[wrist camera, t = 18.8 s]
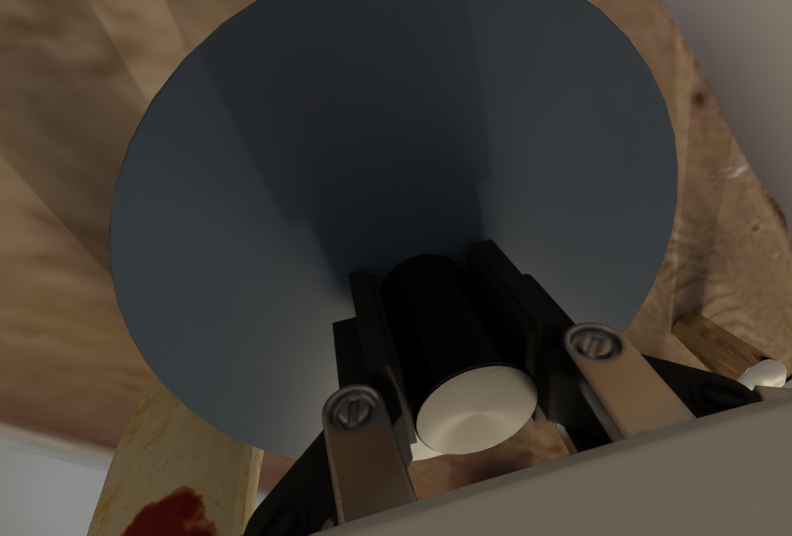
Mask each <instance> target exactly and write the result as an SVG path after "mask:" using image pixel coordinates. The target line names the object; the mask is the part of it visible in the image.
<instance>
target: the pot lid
mask: <svg viewBox="0 0 792 536" xmlns="http://www.w3.org/2000/svg"><path fill="white" fill-rule="evenodd" d="M677 187H678V163H677V154H676V145H675V136H674V132H673V128H672V125H671V121H670V117H669V114H668V110H667V106H666V103H665V100H664V98H663V96H662V94H661V92H660V90H659V87H658V85H657V83H656V81H655V79H654V77H653V74H652V72H651V70H650V69H649V67H648V66H647V64H646V63H645V61H644V60H643V58H642V57H641V56H640V54H639V53H638V51H637V50H636V48H635V47H634V45H633V44H632V42H631V41H630V40H629V38H628V37H627V36H626V35H625V34H624V33H623V32H622V31H621V30H620V29H619V28H618V27H617V26H616V25H615V24H614V23H613V22H612V21H611V20H610V19H609V18H608V17H607V16H606V15H605V14H604V13H603V12H602V11H601V10H600V9H598V8H597V7H595V6H594V5H593V4H591V3H590V2H588V1H587V0H257V1H255V2H254V3H252V4H251V5H249V6H248V7H246V8H245V9H243V10H242V11H240V12H239V13H237V14H236V15H234V16H233V17H231V18H230V19H228V20H226V21H225V22H223V23H222V24H221V25H220V26H219V27H218V28H217V29H216V30H215V31H213V32H212V33H211V34H210V35H209V36H208V37H207V38H206V39H205V40H204V41H203V42H202V43H201V44H199V45H198V46H197V47H196V48H195V49H194V50H193V51H192V52H191V53H190V54H189V55H188V56H186V57H185V58H184V59H183V61H182V62H181V63H180V64H179V66H178V67H177V68H176V70H175V71H174V72H173V73H172V75H171V76H170V77H169V79H168V80H167V81H166V82H165V84H164V85H163V86H162V88H161V89H160V90H159V92H158V93H157V94H156V95H155V97H154V98H153V99H152V101H151V103H150V105H149V107H148V108H147V110H146V112H145V114H144V116H143V118H142V120H141V122H140V123H139V125H138V127H137V129H136V131H135V133H134V135H133V136H132V138H131V140H130V142H129V145H128V148H127V151H126V154H125V157H124V160H123V163H122V166H121V169H120V172H119V175H118V178H117V181H116V184H115V191H114V198H113V204H112V211H111V218H110V224H109V236H110V267H111V272H112V277H113V282H114V287H115V292H116V297H117V302H118V305H119V307H120V310H121V313H122V315H123V318H124V320H125V323H126V326H127V328H128V331H129V334H130V336H131V337H132V339H133V341H134V343H135V344H136V346H137V348H138V350H139V351H140V353H141V355H142V357H143V358H144V360H145V362H146V363H147V365H148V366H149V367H150V368H151V370H152V371H153V372H154V373H155V375H156V376H157V377H158V378H159V380H160V381H161V382H162V383H163V385H164V386H165V387H166V388H167V389H168V390H169V391H170V392H171V393H172V394H173V395H174V396H175V397H176V398H177V399H178V400H179V401H181V402H182V403H183V404H184V405H185V406H186V407H187V408H188V409H189V410H191V411H192V412H193V413H195V414H196V415H198V416H199V417H200V418H202V419H203V420H205V421H206V422H207V423H209V424H210V425H211V426H213V427H215V428H217V429H219V430H220V431H222V432H224V433H226V434H228V435H230V436H231V437H233V438H235V439H237V440H239V441H241V442H244V443H246V444H249V445H251V446H254V447H256V448H259V449H261V450H263V451H267V452H270V453H274V454H277V455H281V456H284V457H287V458H291V459H297V460H298V459H299V458H300V457H301V455H302V454H303V453H304V452H305V451H306V449H307V448H308V447H309V446H310V445H311V444H312V442H313V441H314V440H315V439H316V438H317V436H318V435H319V434H320V433H321V432H322V430H323V424H322V409H323V407H324V404H325V402H326V401H327V400H328V398H329V397H330V396H331V395H332V394H333V393H334V392H336V391H337V390H338V389H339V383H338V373H337V364H336V355H335V346H334V336H333V327H332V324H333V323H334V322H338V321H341V320H345V319H349V318H353V317H356V314H355V309H354V304H353V298H352V293H351V288H350V283H349V277H348V274H350V273H354V272H358V271H362V270H366V273H367V274H370V273H374V275H375V278H376V282H377V285H378V289H379V292H380V295H381V299H382V302H383V306H384V309H385V312H386V316H387V319H388V322H389V326H390V329H391V333H392V336H393V339H394V343H395V346H396V350H397V353H398V357H399V361H400V364H401V369H402V373H403V378H404V382H405V387H406V392H407V396H408V406H409V411H410V414H411V418H412V421H413V425H414V429H415V434H416V438H417V443H415V444H411V445H410V447H411V451H412V455H413V460H412V461H417V460H423V459H427V458H431V457H435V456H439V455H443V454H468V453H474V452H478V451H482V450H485V449H488V448H490V447H493V446H495V445H497V444H499V443H501V442H503V441H505V440H506V439H508V438H510V437H511V436H512V435H514V434H515V433H516V432H517V431H519V430H520V429H521V428H522V427H523V426H524V425H525V424H526V423H527V421H528V420H529V419H530V417H531V416H532V414H533V413H534V411H535V408H536V406H537V403H538V397H539V392H538V386H537V382H536V380H535V378H534V377H533V375H532V374H531V372H530V371H529V369H528V368H527V366H526V365H525V363H524V362H523V360H522V359H521V357H520V355H519V354H518V352H517V351H516V349H515V348H514V346H513V345H512V343H511V342H510V340H509V339H508V337H507V336H506V334H505V333H504V331H503V330H502V328H501V326H500V325H499V323H498V322H497V320H496V319H495V317H494V316H493V314H492V313H491V311H490V310H489V308H488V307H487V305H486V304H485V302H484V301H483V299H482V297H481V296H480V294H479V293H478V291H477V290H476V288H475V287H474V285H473V284H472V282H471V281H470V279H469V275H468V262H467V250H468V249H472V244H473V243H477V242H481V241H485V240H489V239H492V240H493V241H494V242H495V243H496V245H497V246H498V247H499V248H500V249H501V250H502V251H503V253H504V254H505V255H506V256H507V257H508V258H509V259H510V261H511V262H512V263H513V264H514V265H515V266H516V267H517V269H518V270H519V271H520V272H521V273H522V274H530V275H531V276H533V277H534V278H535V280H536V281H537V282H538V283H539V284H540V285H541V286H542V287H543V288H544V290H545V291H546V292H547V293H548V294H549V295H550V296H551V297H552V298H553V299H554V301H555V302H556V303H557V304H558V305H559V306H560V307H561V308H562V309H563V311H564V312H565V313H566V314H567V315H568V316H569V317H570V318H571V319H572V320H573V322H574V323H575V324H579V323H586V322H593V323H601V324H604V325H608V326H610V327H612V328H614V329H616V330H618V331H619V332H620V333H622V334H623V333H624V332H625V330H626V329H627V327H628V326H629V325H630V323H631V322H632V320H633V319H634V317H635V316H636V314H637V313H638V311H639V310H640V308H641V306H642V304H643V302H644V300H645V299H646V297H647V295H648V293H649V291H650V290H651V288H652V286H653V283H654V281H655V279H656V276H657V274H658V271H659V269H660V267H661V264H662V262H663V260H664V256H665V253H666V249H667V246H668V243H669V239H670V236H671V232H672V228H673V222H674V216H675V210H676V204H677Z"/></svg>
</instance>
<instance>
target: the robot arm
mask: <svg viewBox="0 0 792 536" xmlns="http://www.w3.org/2000/svg"><path fill="white" fill-rule="evenodd" d="M467 262H468V275H469V279H470V281H471V282H472V284H473V285H474V287H475V288H476V290H477V291H478V293H479V294H480V296H481V297H482V299H483V301H484V302H485V304H486V305H487V307H488V308H489V310H490V311H491V313H492V314H493V316H494V317H495V319H496V320H497V322H498V323H499V325H500V326H501V328H502V330H503V331H504V333H505V334H506V336H507V337H508V339H509V340H510V342H511V343H512V345H513V346H514V348H515V349H516V351H517V352H518V354H519V355H520V357H521V359H522V360H523V362H524V363H525V365H526V366H527V368H528V369H529V371H530V372H531V374H532V375H533V377H534V378H535V380H536V382H537V386H538V392H539V397H538V403H537V406H536V408H535V411H534V413H533V414H532V418H533V420H534V422H535V423H536V422H539V421H543V420H546V419H547V420H548V421H551V422H553V423H556V425H557V428H558V431H559V433H560V435H561V437H562V439H563V441H564V443H565V445H566V447H567V449H568V451H569V453H570V455H569V456H566V457H562V458H559V459H556V460H552V461H549V462H545V463H542V464H539V465H535V466H532V467H528V468H525V469H522V470H518V471H515V472H512V473H508V474H505V475H501V476H498V477H495V478H491V479H488V480H485V481H481V482H478V483H475V484H471V485H468V486H465V487H461V488H458V489H455V490H451V491H448V492H445V493H441V494H438V495H435V496H431V497H428V498H425V499H421V500H417V497H416V494H415V491H414V488H413V485H412V482H411V479H410V476H409V473H408V470H407V468H408V466H409V465H410V463H411V462H412V460H413V455H412V451H411V447H410V445H411V444H415V443H417V438H416V434H415V429H414V425H413V421H412V418H411V414H410V411H409V406H408V396H407V392H406V387H405V382H404V378H403V373H402V369H401V364H400V361H399V357H398V353H397V350H396V346H395V343H394V339H393V336H392V333H391V329H390V326H389V322H388V319H387V316H386V312H385V309H384V306H383V302H382V299H381V295H380V292H379V289H378V285H377V282H376V278H375V275H374V273H370V274H367V273H366V270H362V271H358V272H354V273H350V274H348V277H349V283H350V288H351V293H352V298H353V304H354V309H355V314H356V317H353V318H349V319H345V320H341V321H338V322H334V323H333V324H332V327H333V336H334V346H335V355H336V364H337V373H338V383H339V389H338V390H337V391H336V392H334V393H333V394H332V395H331V396H330V397H329V398H328V400H327V401H326V402H325V404H324V407H323V409H322V424H323V430H322V432H321V433H320V434H319V435H318V436H317V438H316V439H315V440H314V441H313V442H312V444H311V445H310V446H309V447H308V448H307V449H306V451H305V452H304V453H303V454H302V455H301V457H300V458H299V459H298V460H297V461H296V462H295V464H294V465H293V466H292V467H291V468H290V470H289V471H288V472H287V473H286V474H285V475H284V477H283V478H282V479H281V480H280V481H279V483H278V484H277V485H276V486H275V487H274V488H273V490H272V491H271V492H270V493H269V494H268V496H267V497H266V498H265V499H264V500H263V502H262V503H261V504H260V505H259V506H258V507H257V509H256V510H255V511H254V513H253V514H252V516H251V517H250V519H249V520H248V523H247V526H246V528H245V531H244V533H243V534H242V535H240V536H792V388H781V387H770V386H759V385H755V386H754V388H753V390H750V389H749V388H748V387H747V386H745V385H743V384H741V383H740V382H738V381H736V380H734V379H731V378H728V377H725V376H723V375H719V374H715V373H711V372H708V371H704V370H700V369H696V368H692V367H689V366H685V365H681V364H677V363H674V362H670V361H666V360H662V359H658V358H655V357H651V356H647V355H643V354H640V353H639V352H638V351H637V350H636V348H635V347H634V346H633V345H632V344H631V343H630V342H629V340H628V339H627V338H626V337H625V336H624V335H623V334H622V333H620V332H619V331H618V330H616V329H614V328H612V327H610V326H608V325H604V324H601V323H593V322H586V323H579V324H575V323H574V322H573V320H572V319H571V318H570V317H569V316H568V315H567V314H566V313H565V312H564V311H563V309H562V308H561V307H560V306H559V305H558V304H557V303H556V302H555V301H554V299H553V298H552V297H551V296H550V295H549V294H548V293H547V292H546V291H545V290H544V288H543V287H542V286H541V285H540V284H539V283H538V282H537V281H536V280H535V278H534V277H533V276H531V275H530V274H522V273H521V272H520V271H519V270H518V269H517V267H516V266H515V265H514V264H513V263H512V262H511V261H510V259H509V258H508V257H507V256H506V255H505V254H504V253H503V251H502V250H501V249H500V248H499V247H498V246H497V245H496V243H495V242H494V241H493V240H492V239H489V240H485V241H481V242H477V243H473V244H472V249H468V250H467Z"/></svg>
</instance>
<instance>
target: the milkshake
mask: <svg viewBox="0 0 792 536" xmlns="http://www.w3.org/2000/svg"><path fill="white" fill-rule="evenodd" d="M672 330H673V335H674V336H675V337H676V338H677V339H678V340H679V341H680V342H681V343H682V344H683V345H684V346H685V347H686V348H687V349H688V350H689V351H690V352H691V353H692V354H693V355H694V356H696V357H697V358H698V359H699V360H700V361H701V362H702V363H703V364H704V365H705V366H706V367H707V368H708V369H709V370H710V371H711V372H712V373H715V374H719V375H723V376H725V377H728V378H731V379H734V380H736V381H738V382H740V383H741V384H743V385H745V386H747V387H748V388H749V389H750V390H753V388H754V386H755V385H759V386H770V387H782V386H783V385H784V384H785V381H786V367H785V366H784V364H783V363H781V362H779V361H777V360H776V359H774V358H772V357H771V356H769V355H767V354H765V353H764V352H762V351H760V350H759V349H757V348H755V347H754V346H752V345H750V344H748V343H746V342H744V341H742V340H741V339H739V338H738V337H736V336H734V335H733V334H731V333H730V332H728V331H726V330H725V329H723V328H722V327H720V326H719V325H717V324H715V323H714V322H712V321H711V320H709V319H707V318H706V317H704V316H703V315H701V314H699V313H697V312H690V313H686V314H685V315H683V316H682V317H680V318H679V319H678V320H677V321H676V323H675V324H674V326H673V327H672Z"/></svg>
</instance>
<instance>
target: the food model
mask: <svg viewBox="0 0 792 536" xmlns="http://www.w3.org/2000/svg"><path fill="white" fill-rule="evenodd" d="M263 453H264V451H263V450H261V449H259V448H256V447H254V446H251V445H249V444H246V443H244V442H241V441H239V440H237V439H235V438H233V437H231V436H230V435H228V434H226V433H224V432H222V431H220V430H219V429H217V428H215V427H213V426H211V425H210V424H209V423H207V422H206V421H205V420H203V419H202V418H200V417H199V416H198V415H196V414H195V413H193V412H192V411H191V410H189V409H188V408H187V407H186V406H185V405H184V404H183V403H182V402H181V401H179V400H178V399H177V398H176V397H175V396H174V395H173V394H172V393H171V392H170V391H169V390H168V389H167V388H166V387H165V386H164V385H163V383H162V382H161V381H160V380H159V378H158V377H157V376H156V375H154V376H153V378H152V380H151V382H150V384H149V386H148V388H147V389H146V391H145V393H144V395H143V397H142V399H141V401H140V402H139V404H138V406H137V408H136V410H135V412H134V413H133V415H132V417H131V419H130V421H129V423H128V425H127V426H126V429H125V431H124V433H123V435H122V438H121V440H120V442H119V444H118V447H117V449H116V452H115V455H114V457H113V460H112V463H111V465H110V468H109V471H108V474H107V477H106V480H105V483H104V486H103V489H102V492H101V495H100V498H99V500H98V503H97V506H96V509H95V512H94V515H93V518H92V521H91V523H90V527H89V530H88V534H87V536H240V535H242V534H243V533H244V531H245V528H246V526H247V523H248V520H249V519H250V517H251V516H252V514H253V513H254V508H255V500H256V493H257V487H258V481H259V474H260V469H261V463H262V458H263Z"/></svg>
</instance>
